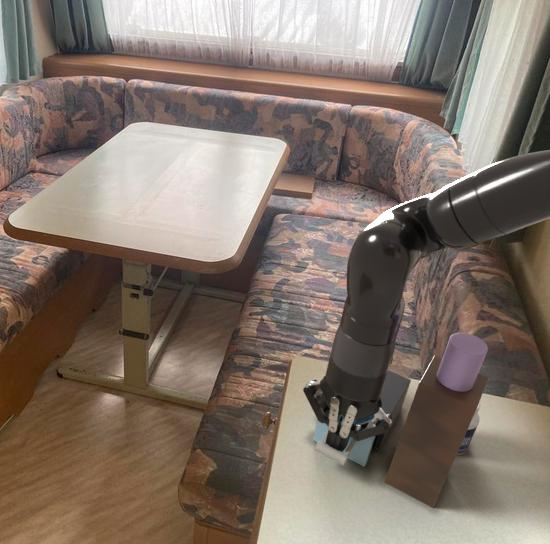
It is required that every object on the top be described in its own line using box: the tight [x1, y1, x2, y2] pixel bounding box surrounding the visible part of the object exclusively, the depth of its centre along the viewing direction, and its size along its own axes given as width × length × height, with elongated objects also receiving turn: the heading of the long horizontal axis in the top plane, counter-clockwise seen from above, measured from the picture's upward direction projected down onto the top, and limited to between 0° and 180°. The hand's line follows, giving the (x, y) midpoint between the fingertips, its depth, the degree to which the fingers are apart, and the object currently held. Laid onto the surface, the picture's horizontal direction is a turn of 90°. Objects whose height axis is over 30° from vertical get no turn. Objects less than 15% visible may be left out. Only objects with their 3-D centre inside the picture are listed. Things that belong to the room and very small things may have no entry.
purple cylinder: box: [437, 332, 489, 392], centre depth 72 cm, size 4×4×6 cm
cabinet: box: [373, 369, 412, 450], centre depth 93 cm, size 11×10×8 cm
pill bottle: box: [456, 401, 481, 456], centre depth 88 cm, size 5×5×10 cm
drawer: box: [312, 415, 377, 468], centre depth 87 cm, size 14×8×6 cm, turn 145°
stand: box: [384, 355, 489, 509], centre depth 79 cm, size 7×7×20 cm
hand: (335, 447), depth 84 cm, fingers closed
